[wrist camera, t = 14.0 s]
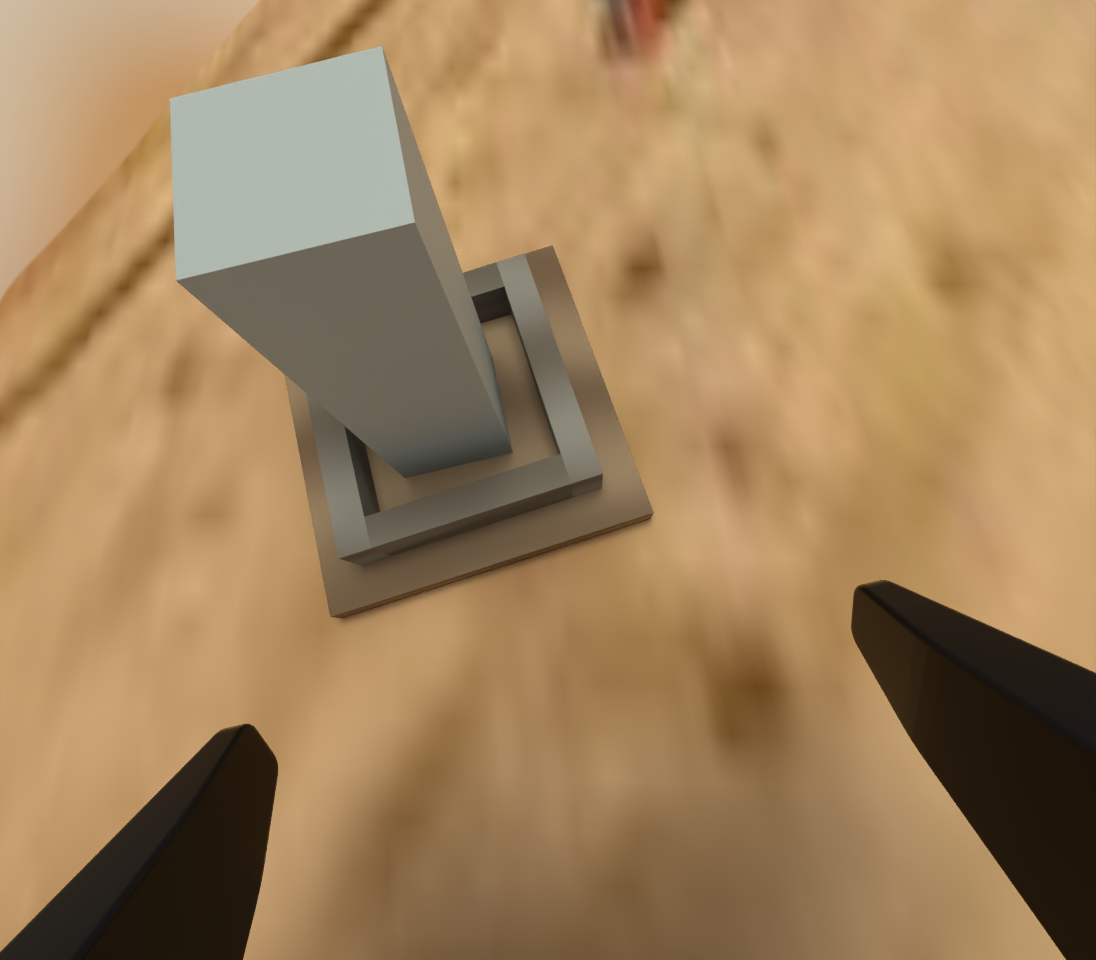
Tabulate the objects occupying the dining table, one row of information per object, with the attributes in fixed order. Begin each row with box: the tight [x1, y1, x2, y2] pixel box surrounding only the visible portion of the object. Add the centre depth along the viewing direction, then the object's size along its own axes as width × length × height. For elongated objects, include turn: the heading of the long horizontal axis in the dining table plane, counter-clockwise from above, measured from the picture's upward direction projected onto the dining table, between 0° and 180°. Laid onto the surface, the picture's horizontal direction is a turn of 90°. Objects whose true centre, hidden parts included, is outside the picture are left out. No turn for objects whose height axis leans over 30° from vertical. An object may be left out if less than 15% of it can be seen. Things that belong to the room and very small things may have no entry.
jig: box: [285, 245, 653, 618], centre depth 23 cm, size 13×13×3 cm
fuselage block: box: [170, 46, 513, 478], centre depth 17 cm, size 4×4×13 cm
